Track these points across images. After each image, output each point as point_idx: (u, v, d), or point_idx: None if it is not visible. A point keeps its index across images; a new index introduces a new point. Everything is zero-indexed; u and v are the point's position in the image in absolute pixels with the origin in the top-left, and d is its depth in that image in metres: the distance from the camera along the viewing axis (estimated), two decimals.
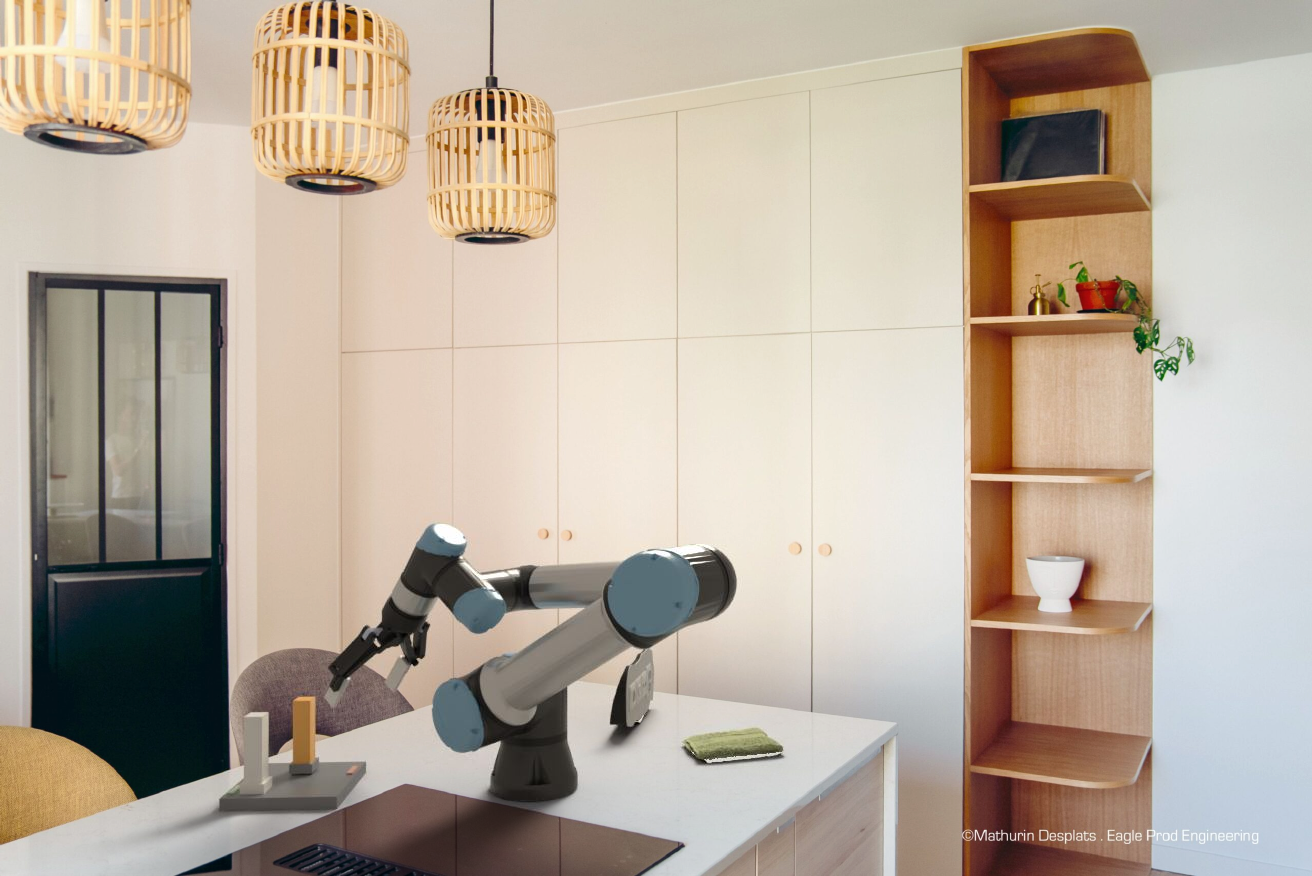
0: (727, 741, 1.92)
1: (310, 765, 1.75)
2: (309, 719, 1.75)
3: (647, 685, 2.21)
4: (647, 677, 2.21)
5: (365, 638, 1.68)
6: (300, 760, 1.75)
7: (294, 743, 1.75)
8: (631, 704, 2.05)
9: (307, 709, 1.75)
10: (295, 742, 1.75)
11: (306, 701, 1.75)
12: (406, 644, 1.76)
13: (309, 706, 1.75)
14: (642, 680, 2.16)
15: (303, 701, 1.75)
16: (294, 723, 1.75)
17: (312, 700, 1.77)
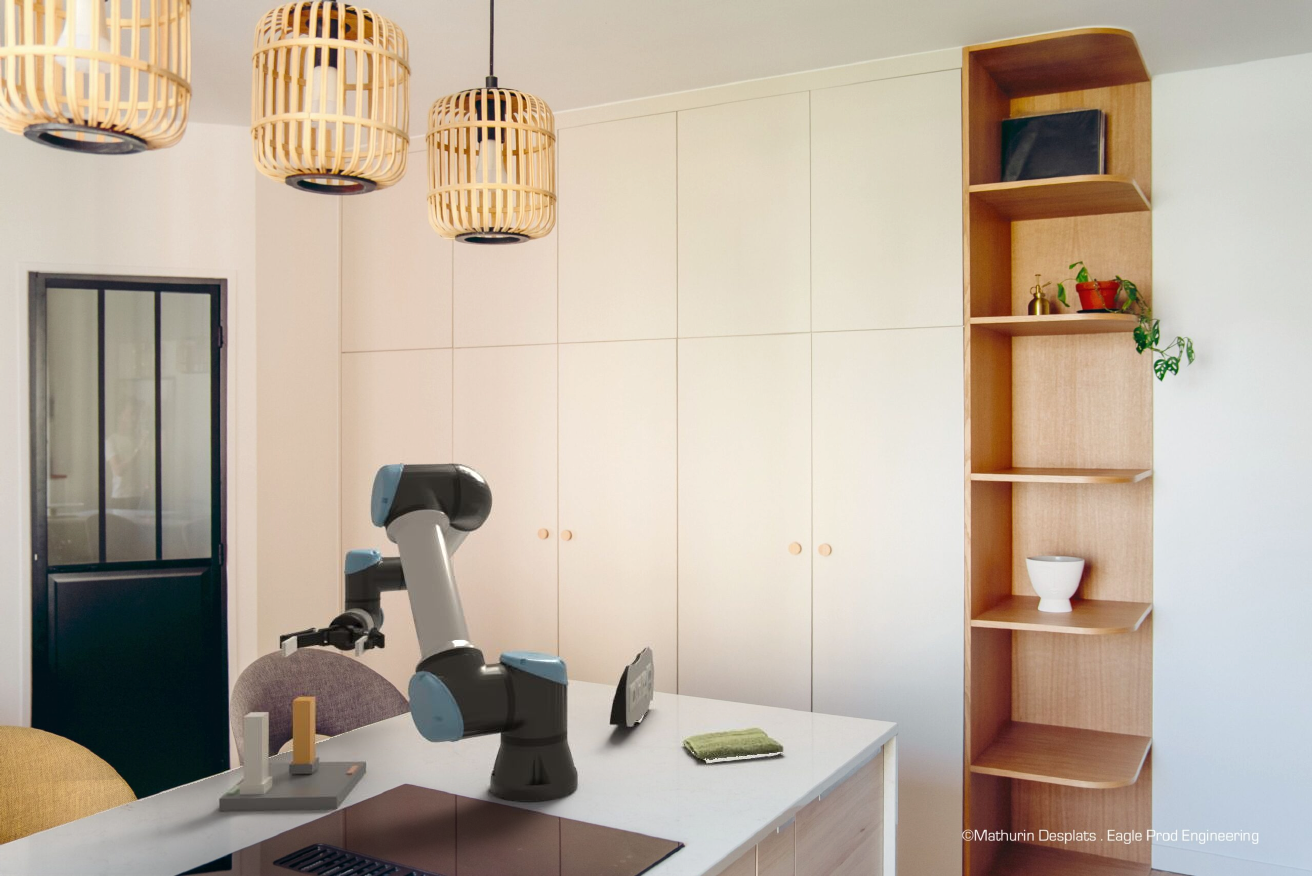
0: (727, 741, 1.92)
1: (310, 765, 1.75)
2: (309, 719, 1.75)
3: (647, 685, 2.21)
4: (647, 677, 2.21)
5: None
6: (300, 760, 1.75)
7: (294, 743, 1.75)
8: (631, 704, 2.05)
9: (307, 709, 1.75)
10: (295, 742, 1.75)
11: (306, 701, 1.75)
12: (352, 628, 2.00)
13: (309, 706, 1.75)
14: (642, 680, 2.16)
15: (303, 701, 1.75)
16: (294, 723, 1.75)
17: (312, 700, 1.77)
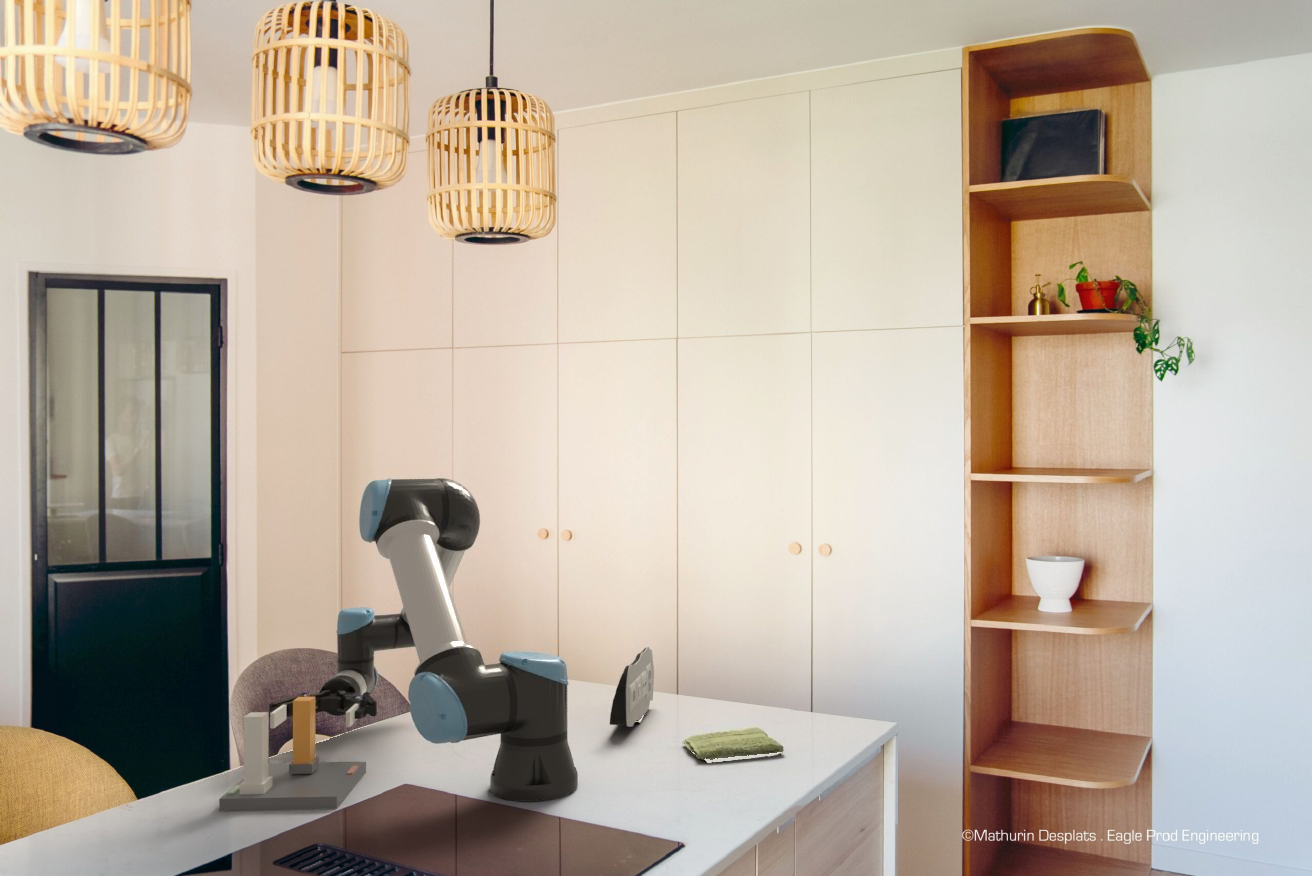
0: (727, 741, 1.92)
1: (310, 765, 1.75)
2: (309, 719, 1.75)
3: (647, 685, 2.21)
4: (647, 677, 2.21)
5: None
6: (300, 760, 1.75)
7: (294, 743, 1.75)
8: (631, 704, 2.05)
9: (307, 709, 1.75)
10: (295, 742, 1.75)
11: (306, 701, 1.75)
12: (343, 694, 1.94)
13: (309, 706, 1.75)
14: (642, 680, 2.16)
15: (303, 701, 1.75)
16: (294, 723, 1.75)
17: (312, 700, 1.77)
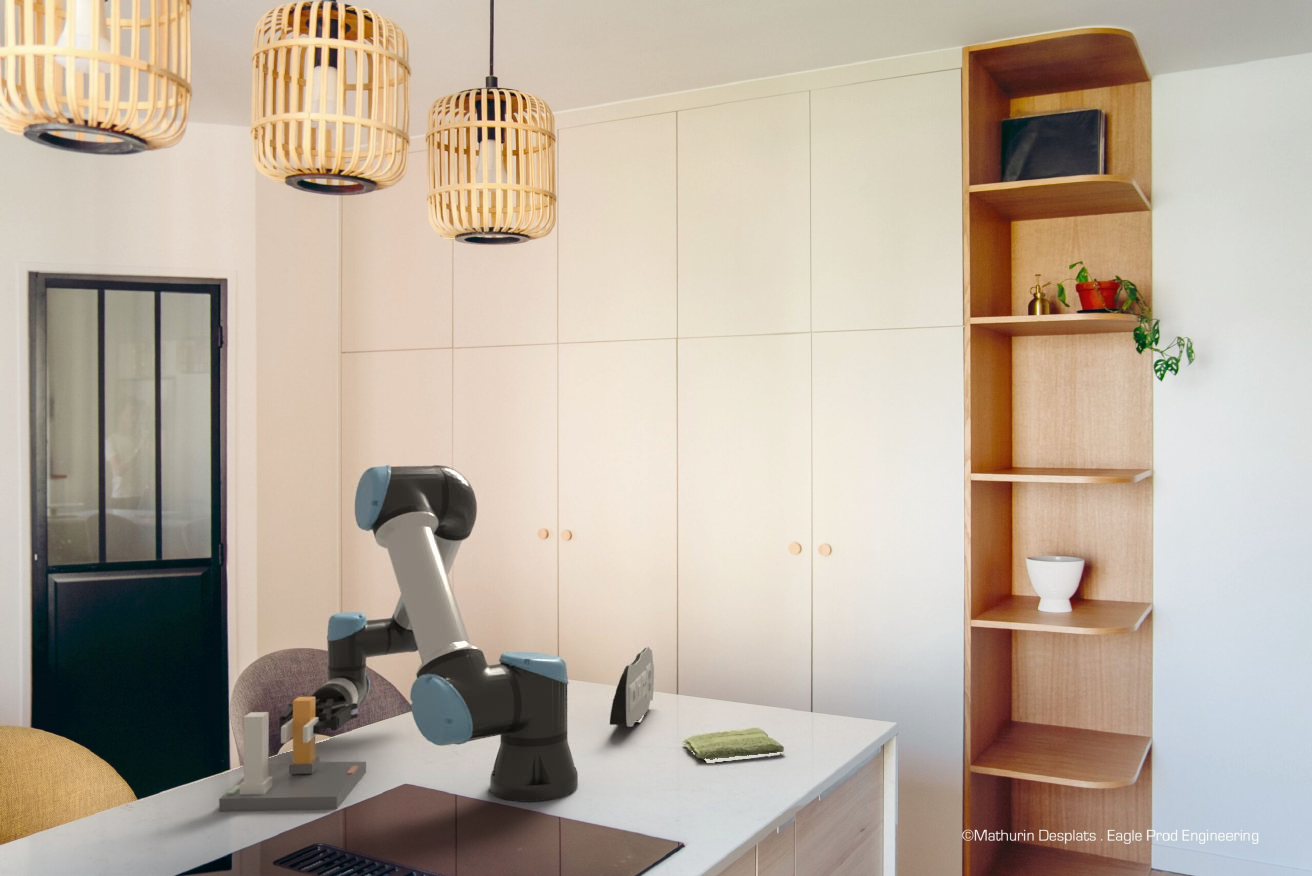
0: (728, 741, 1.92)
1: (310, 765, 1.75)
2: (309, 719, 1.75)
3: (647, 685, 2.21)
4: (647, 677, 2.21)
5: None
6: (300, 760, 1.75)
7: (294, 743, 1.75)
8: (631, 704, 2.05)
9: (307, 709, 1.75)
10: (295, 742, 1.75)
11: (306, 701, 1.75)
12: (326, 703, 1.86)
13: (309, 706, 1.75)
14: (642, 680, 2.16)
15: (303, 701, 1.75)
16: (294, 723, 1.75)
17: (312, 700, 1.77)
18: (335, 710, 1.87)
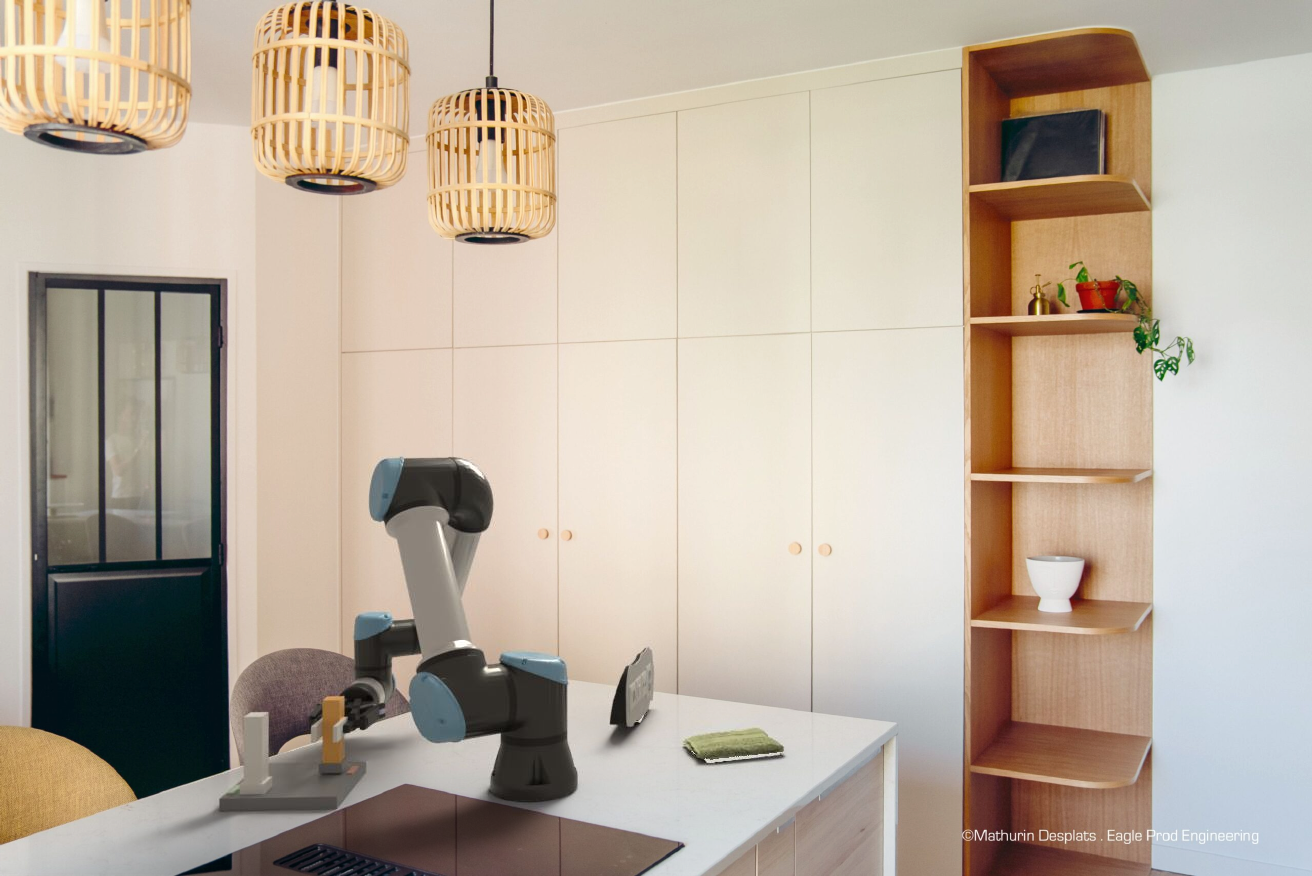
0: (728, 741, 1.92)
1: (340, 764, 1.75)
2: (338, 719, 1.76)
3: (647, 685, 2.21)
4: (647, 677, 2.21)
5: None
6: (330, 759, 1.75)
7: (324, 742, 1.75)
8: (631, 704, 2.05)
9: (337, 708, 1.76)
10: (324, 741, 1.75)
11: (335, 701, 1.76)
12: (354, 703, 1.86)
13: (338, 706, 1.76)
14: (642, 680, 2.16)
15: (332, 701, 1.76)
16: (324, 723, 1.75)
17: (341, 700, 1.77)
18: (363, 710, 1.87)
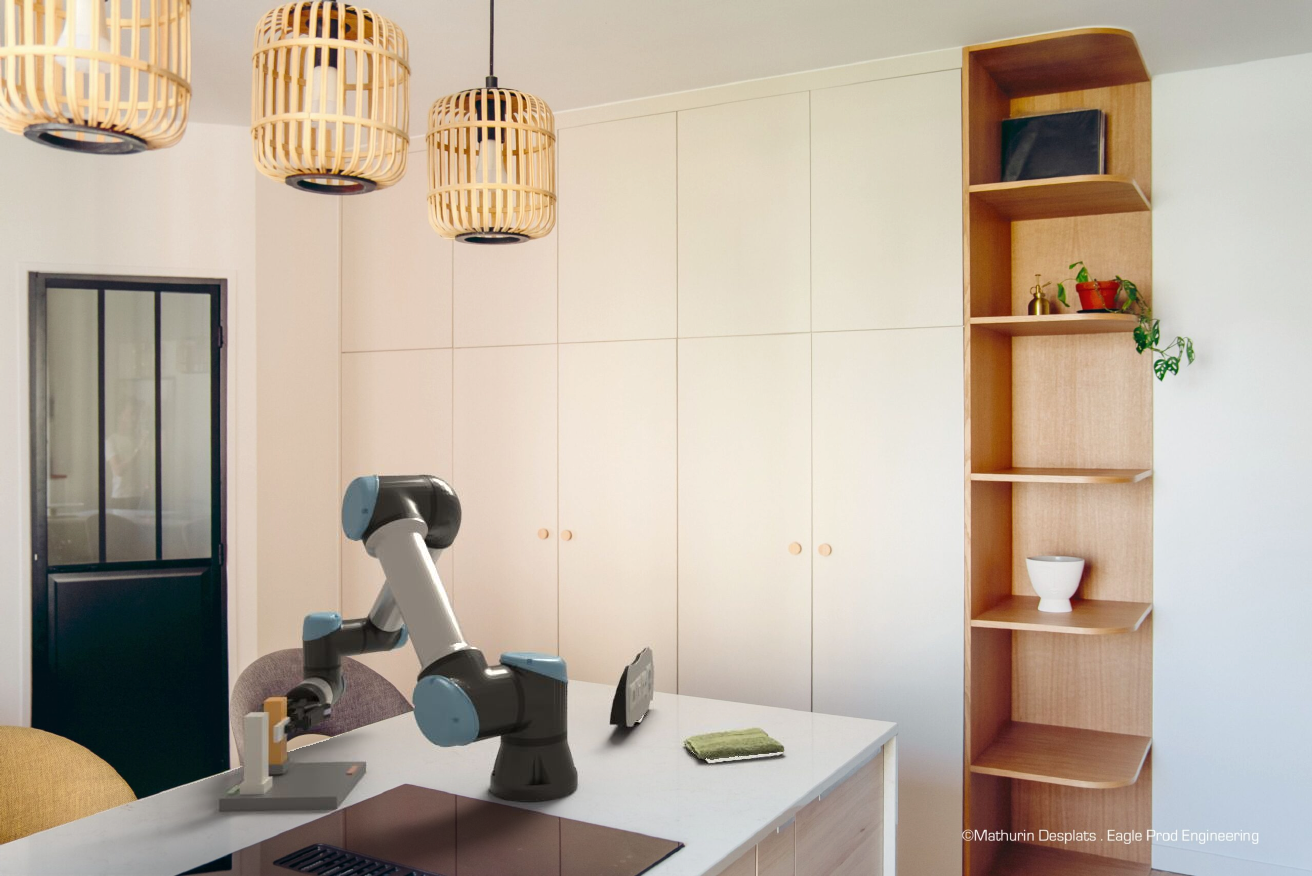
0: (728, 741, 1.92)
1: (281, 765, 1.74)
2: (280, 719, 1.75)
3: (647, 685, 2.21)
4: (647, 677, 2.21)
5: None
6: (271, 761, 1.75)
7: None
8: (631, 704, 2.05)
9: (278, 709, 1.75)
10: None
11: (277, 701, 1.75)
12: (299, 703, 1.86)
13: (280, 706, 1.75)
14: (642, 680, 2.16)
15: (274, 701, 1.75)
16: None
17: (283, 700, 1.76)
18: (308, 710, 1.86)
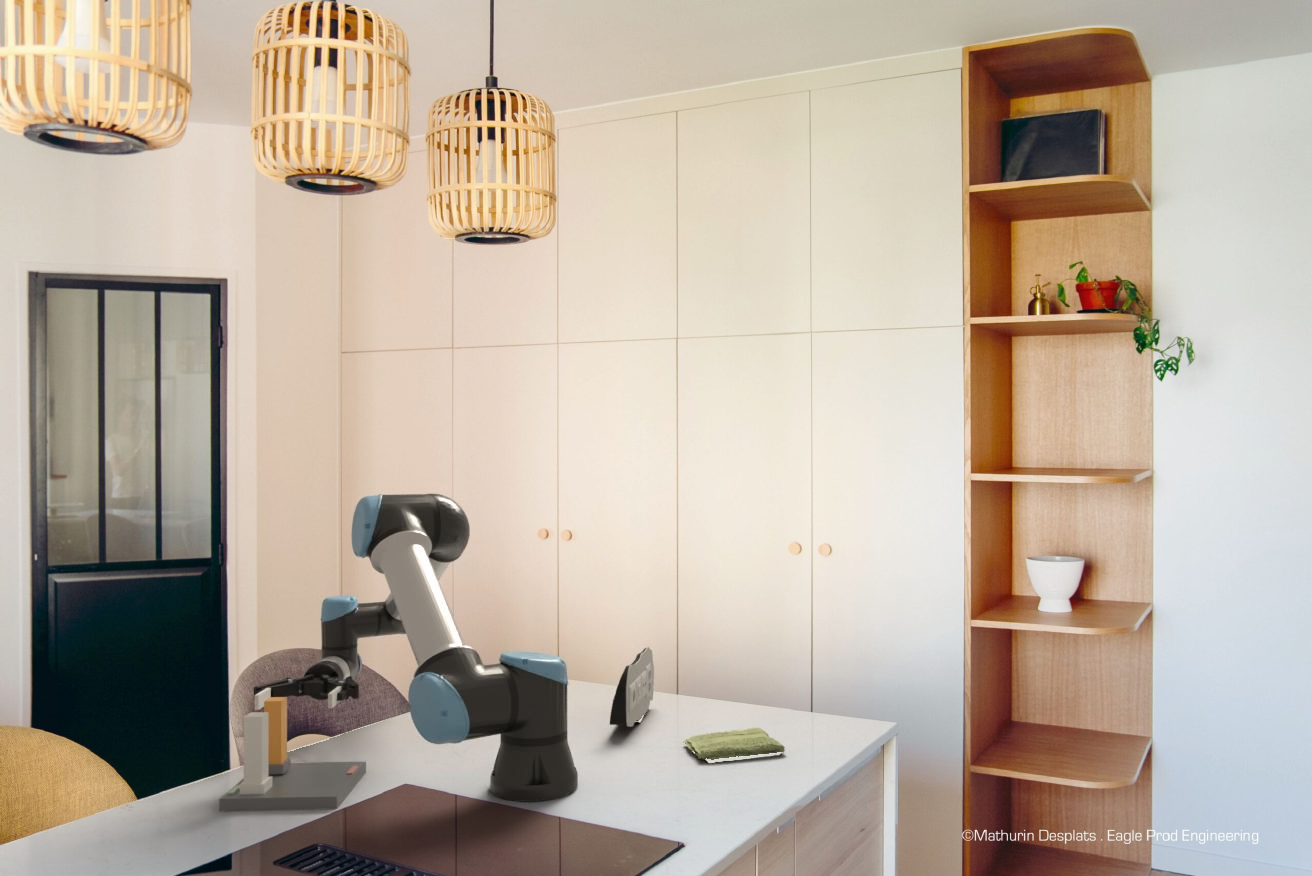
0: (728, 741, 1.92)
1: (281, 765, 1.74)
2: (280, 719, 1.75)
3: (647, 685, 2.21)
4: (647, 677, 2.21)
5: None
6: (271, 761, 1.75)
7: None
8: (631, 704, 2.05)
9: (278, 709, 1.75)
10: None
11: (277, 701, 1.75)
12: (326, 678, 1.99)
13: (280, 706, 1.75)
14: (642, 680, 2.16)
15: (274, 701, 1.75)
16: None
17: (283, 700, 1.76)
18: None
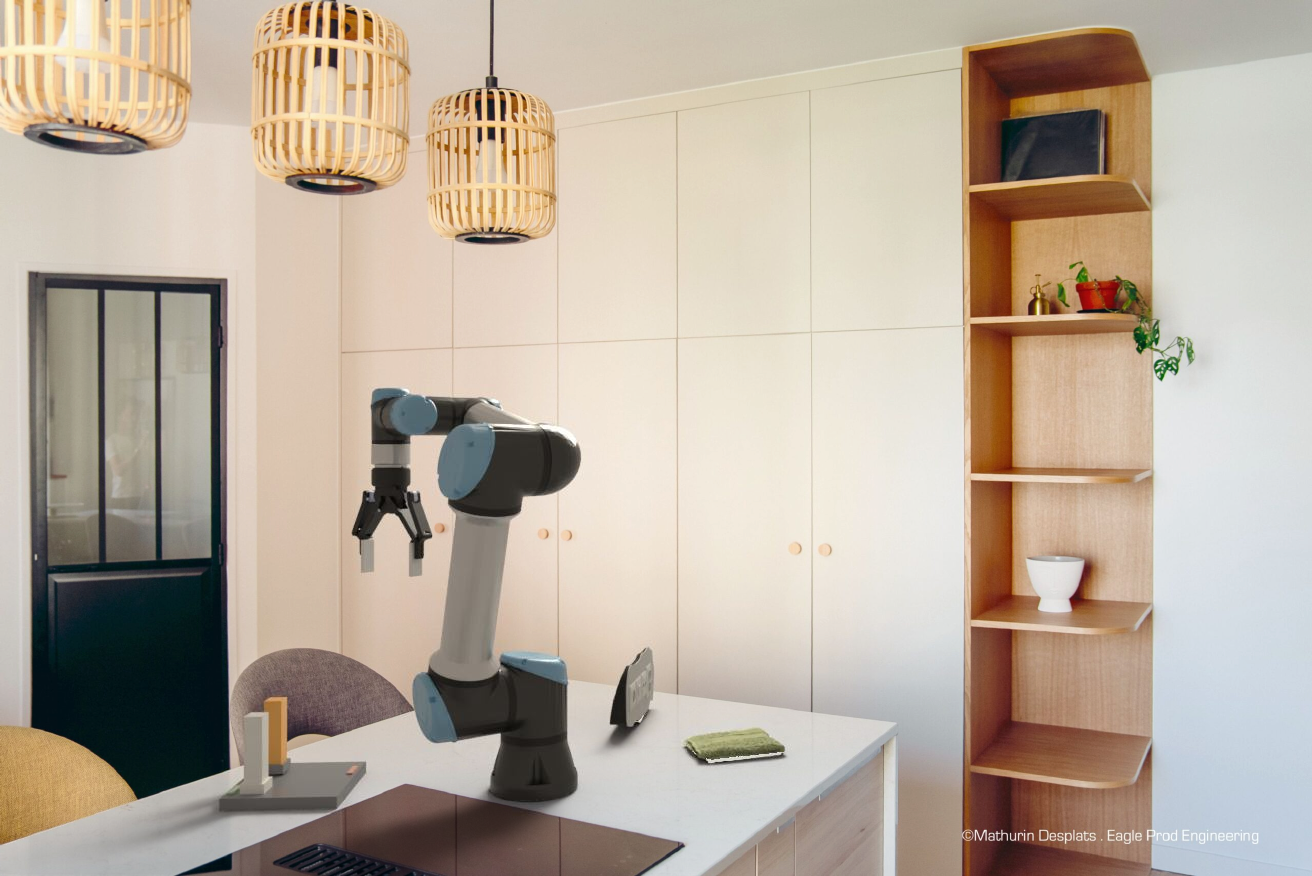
0: (729, 741, 1.92)
1: (281, 765, 1.74)
2: (280, 719, 1.75)
3: (647, 685, 2.21)
4: (647, 677, 2.21)
5: None
6: (271, 761, 1.75)
7: None
8: (631, 704, 2.05)
9: (278, 709, 1.75)
10: None
11: (277, 701, 1.75)
12: (393, 509, 1.94)
13: (280, 706, 1.75)
14: (642, 680, 2.16)
15: (274, 701, 1.75)
16: None
17: (283, 700, 1.76)
18: (399, 508, 1.95)
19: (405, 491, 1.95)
